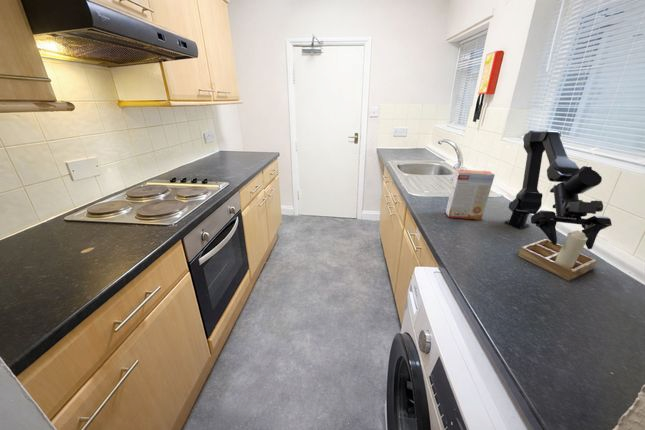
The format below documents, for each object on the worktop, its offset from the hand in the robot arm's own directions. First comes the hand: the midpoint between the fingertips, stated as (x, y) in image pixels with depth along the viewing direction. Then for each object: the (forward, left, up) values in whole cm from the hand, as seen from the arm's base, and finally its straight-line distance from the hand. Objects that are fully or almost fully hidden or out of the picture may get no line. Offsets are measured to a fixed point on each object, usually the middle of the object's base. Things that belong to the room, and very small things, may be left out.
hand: (572, 246), depth 80 cm
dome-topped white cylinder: (0, 0, -8) cm, 8 cm away
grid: (-3, -3, -9) cm, 10 cm away
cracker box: (-6, -41, -9) cm, 42 cm away
